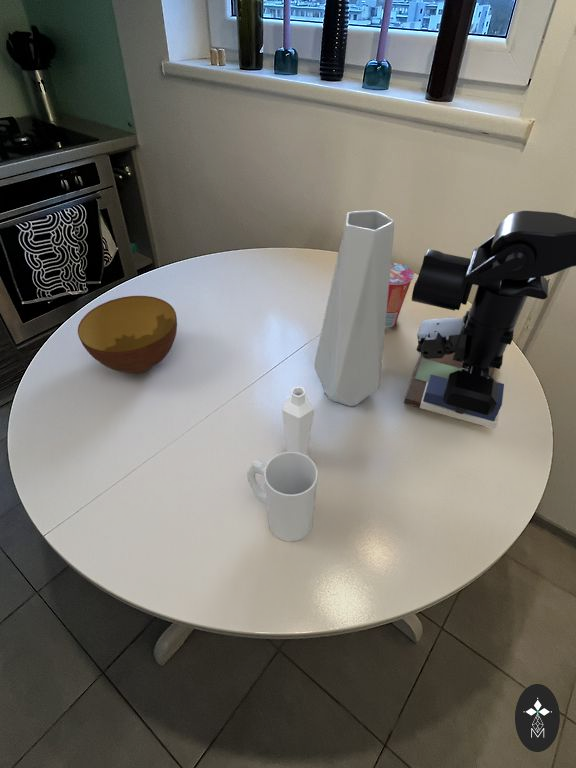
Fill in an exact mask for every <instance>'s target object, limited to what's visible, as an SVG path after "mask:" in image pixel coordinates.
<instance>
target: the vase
mask: <svg viewBox="0 0 576 768" xmlns="http://www.w3.org/2000/svg"><path fill="white" fill-rule="evenodd" d="M394 233H395V221H394V220H393V219H392V218H391V217H389V216H388V215H386V214H384V213H383V212H381V211H379V210H375V209H374V210H370V209H369V210H357V211H356V210H355V211H349V212H347V213H346V216H345V220H344V225H343V230H342V233H341V239H340V243H339V247H338V251H337V256H336V260H335V261H336V262H335V266H334V270H333V274H332V280H331V284H330V289H329V294H328V298H327V303H326V307H325V312H324V316H323V321H322V325H321V331H320V336H319V339H318V344H317V350H316V354H315V357H314V363H313V366H314V371H315V373H316V376H317V377H318V379H319V382H320V383H321V386H322V388H323V390H324V392H325V394H326V396H327V398H328V399H329V400H330V401H334V402H336V403H339V404H342V405H345V406H348V407H356V406H357V405H359V404H360V403H361V402H362V401H364V400H365V399H367V398H368V397H369V396H371V394H373V393H374V392H376V391H377V390H378V389H379V388H380V385H381V374H382V365H383V353H384V343H385V335H386V334H385V332H386V328H385V323H386V312H387V301H388V291H389V280H390V269H391V263H392V257H393V247H394V246H393V245H394V236H395V235H394Z"/></svg>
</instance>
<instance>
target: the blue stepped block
mask: <svg viewBox="0 0 576 768" xmlns="http://www.w3.org/2000/svg"><path fill="white" fill-rule="evenodd" d="M447 380H448V378H444V377H440V376H436V375H432V374H431V375H430V378H429V382H427V384H426V387H425V391H424V394H423V398H422V401H421V404H420V407H419V408H420V409H421V410H426V411H429V412H433V413H436V414H440V415H444V416H448V417H450V418H454V419H458V420H461V421H466V422H468V423H473V424H475V425H480V426H483V427H487V428H490V429H496V428H497V425H498V423H499V414H500V410H501V407H502V406H503V398H504V389H505V383H503V382H498V381H496V383H497V384H498V386H499V390H498V399H497V404H496V407H495V409H494V411H493V413H492V414H490V415H484V414H481V413H477V412H473V411H470V410H468V411H467V412H465V413H464V414H459V413H456V412H455V406H451V405H448V404H446V403H445V402H444V401H443V400H442V399H443V395H444V391H445V387H446V384H447Z"/></svg>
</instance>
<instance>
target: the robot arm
mask: <svg viewBox="0 0 576 768" xmlns="http://www.w3.org/2000/svg"><path fill="white" fill-rule="evenodd" d="M573 267H576V217H573V216H569V215H566V214H562V213H559V212H551V211H538V210H537V211H534V210H520V211H516V212H513V213H511V214H508V215H507V217H505V218H504V219H503V220H502V221H501V222H500V223H499V224H498V226H497V228H496V230H495V233H494V234H493V235H491V236H490V237H489V238H488V239H486V240H485V241H484V242H482V243H481V244H480V245H478V246H477V247H475V248H474V249H473V251H472V254H471V256H470V258H469V257H464V256H459V255H454V254H450V253H449V254H448V253H445V252H442V251H439V250H436V249H432V248H429V249H427V250H426V252H425V254H424V256H423V259H422V264H421V266H420V270H419V273H418V276H417V279H416V280H415V282H414V285H413V289H412V295H411V301H412V302H415V303H419V304H424V305H428V306H433V307H436V308H441V309H445V310H450V311H454V312H455V311H456V310H457V311H460V309H461V306H462V305H463V306H464V305H465V306H466V305H467V303H468V300H469V297H470V294H471V290H472V287H473V285H475V286H477V289H476V291H475V295H474V297H473V301H472V302H471V303H472V304H471V306H470V308H469V310H466V311H465V314H464V315H463V316H462V318H456V317H443V318H441V317H440V318H429V319H425V320H423V321H422V322H421V323H420V326H419V329H418V331H417V334H416V336H417V346H416V351H417V352H418V353H420V354H421V355H422V356H423V357H424V358H426V359H435V358H443V357H444V355H449V354H452V353H454V352H455V353H454V356H453V360H455V361H459V362H462V367H461V369H462V371H459V370H458V371H455V372H453V373H450V374H449V377H448V380H447V384H446V387H445V391H444V395H443V399H442V400H443V401H444V402H445V403H446V404H448V405H451V406H455V412H456V413H459V414H464V413H465V412H467V411H468V410H470V411H473V412H477V413H481V414H484V415H490V414H492V413H493V411H494V409H495V407H496V404H497V399H498V390H499V386H498V384H497V383H496V382H497V381H496V380H495V378H494V376H493V377H492V376H490V375H489V370H490V368H491V367H493V368H495V369H497V370H500V369H501V367H502V365H503V361H504V353H505V351H506V348H507V346H508V345H511V344H512V342H513V340H514V332H515V327H516V325H517V322H518V320H519V317H520V315H521V313H522V310H523V308H524V306H525V303H526V302H527V298H528V297H529V298H533V299H538V300H547V298H548V295H549V284H550V283H549V282H550V281H548V280H547V278H546V277H548V276H552V275H555V274H556V273H559V272H560V273H561V272H562V271H565V270H567V269H570V268H573Z"/></svg>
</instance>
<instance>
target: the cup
mask: <svg viewBox="0 0 576 768" xmlns="http://www.w3.org/2000/svg"><path fill="white" fill-rule="evenodd" d="M414 277H415V273H414V271H413V270H412V269H411V268H409V267H408V266H407V265H404V264H401V263H397V262H396V263H395V262H391V269H390V280H389V291H388V301H387V312H386V323H385V329H387V328H392V327H395V325H396V324H397V321H398V318H399V316H400V314H401V313H400V312H401V310H402V307H403V305H404V301H405V298H406V296H407V293H408V290H409V288H410V285H411V283H412V281H413V280H414Z"/></svg>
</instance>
